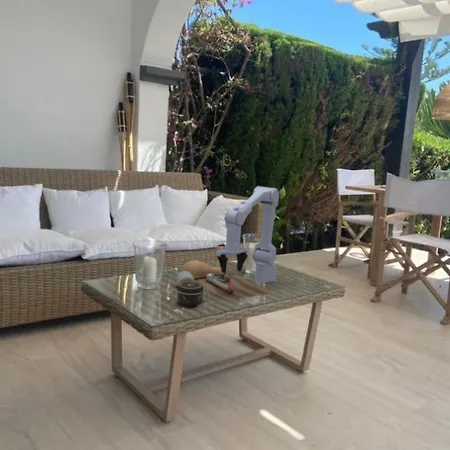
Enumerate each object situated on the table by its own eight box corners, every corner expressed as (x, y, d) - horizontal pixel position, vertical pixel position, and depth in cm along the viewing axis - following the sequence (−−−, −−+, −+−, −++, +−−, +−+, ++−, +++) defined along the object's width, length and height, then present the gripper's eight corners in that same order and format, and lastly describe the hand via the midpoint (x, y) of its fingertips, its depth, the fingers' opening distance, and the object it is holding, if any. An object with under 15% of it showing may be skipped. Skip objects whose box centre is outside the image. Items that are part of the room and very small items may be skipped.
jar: (172, 305, 189) (173, 286, 188) (183, 297, 199) (184, 279, 197) (196, 309, 186) (197, 290, 185) (206, 301, 195) (207, 283, 194)
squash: (177, 278, 227) (179, 258, 227) (214, 278, 238) (215, 260, 238) (189, 280, 218) (190, 260, 218) (226, 280, 229) (227, 261, 229)
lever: (205, 280, 219) (205, 273, 218) (214, 278, 221) (214, 272, 221) (228, 293, 202) (229, 286, 202) (238, 291, 205) (238, 284, 204)
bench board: (238, 277, 231) (238, 269, 231) (274, 295, 208) (275, 286, 207) (193, 283, 219) (193, 274, 218) (226, 302, 195) (227, 293, 195)
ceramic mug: (178, 294, 203) (179, 276, 202) (175, 288, 211) (176, 270, 209) (203, 293, 206) (204, 275, 204) (199, 287, 214) (200, 270, 212)
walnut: (228, 279, 223) (228, 272, 223) (231, 281, 221) (232, 274, 220) (222, 280, 222) (222, 273, 221) (225, 282, 219) (226, 275, 218)
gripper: (242, 236, 207) (240, 267, 210) (213, 238, 200) (211, 270, 202) (252, 239, 201) (250, 271, 204) (222, 242, 194) (220, 275, 196)
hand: (231, 271), depth 203 cm, fingers open, 7 cm apart
